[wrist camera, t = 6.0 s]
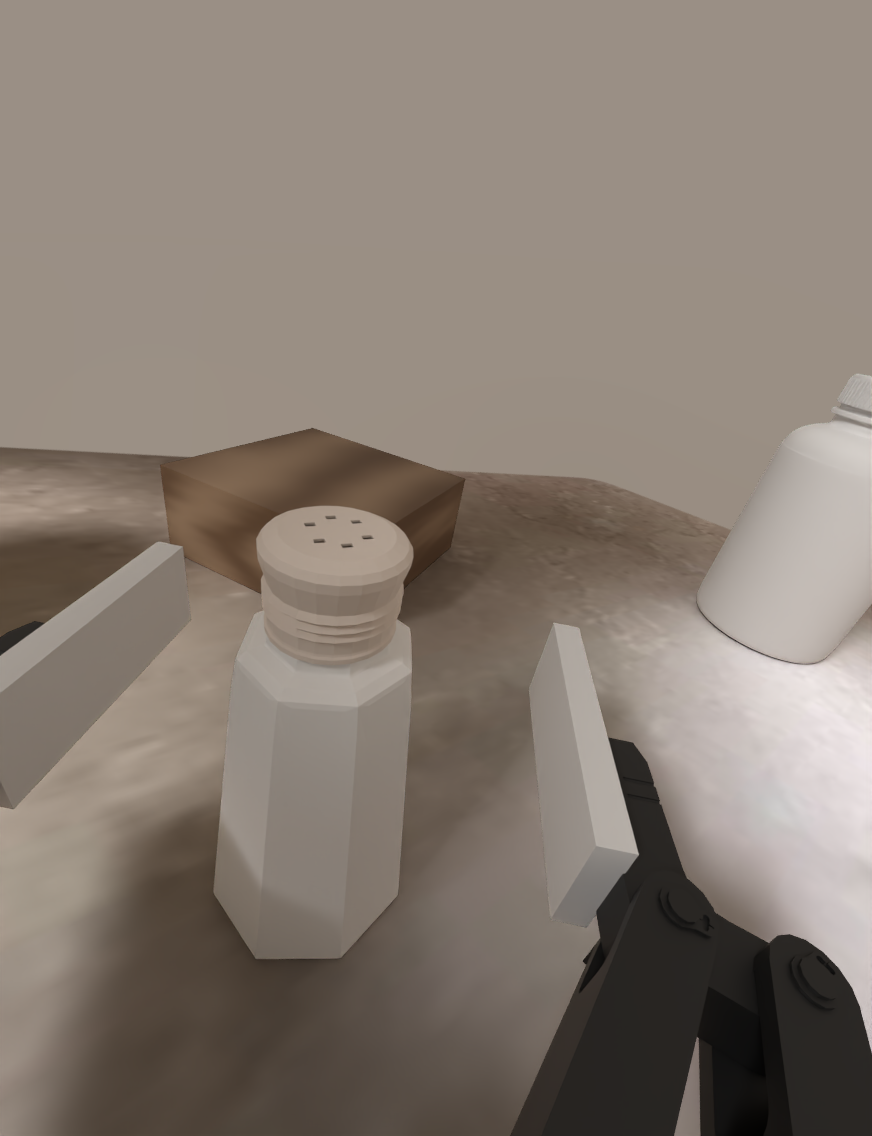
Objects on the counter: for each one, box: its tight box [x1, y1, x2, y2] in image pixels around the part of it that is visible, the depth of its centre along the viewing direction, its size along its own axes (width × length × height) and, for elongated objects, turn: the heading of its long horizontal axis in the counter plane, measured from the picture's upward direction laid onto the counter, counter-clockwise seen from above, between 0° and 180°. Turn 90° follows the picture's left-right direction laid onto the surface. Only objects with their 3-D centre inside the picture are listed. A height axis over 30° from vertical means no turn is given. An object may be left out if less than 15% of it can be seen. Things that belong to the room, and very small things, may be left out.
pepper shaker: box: [213, 506, 413, 959], centre depth 11 cm, size 5×5×11 cm
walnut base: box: [160, 428, 465, 593], centre depth 28 cm, size 12×12×5 cm
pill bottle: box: [697, 374, 872, 664], centre depth 27 cm, size 8×8×15 cm
